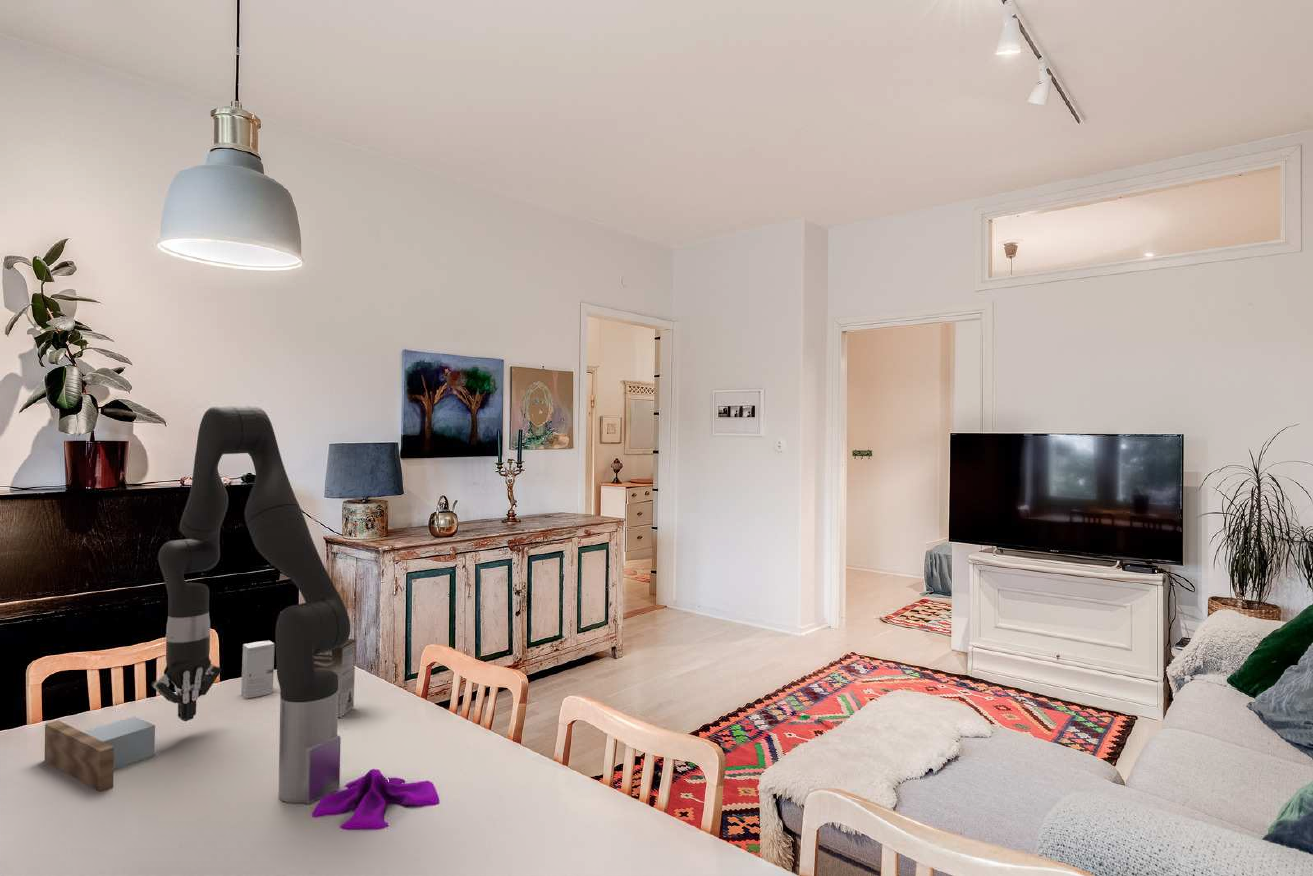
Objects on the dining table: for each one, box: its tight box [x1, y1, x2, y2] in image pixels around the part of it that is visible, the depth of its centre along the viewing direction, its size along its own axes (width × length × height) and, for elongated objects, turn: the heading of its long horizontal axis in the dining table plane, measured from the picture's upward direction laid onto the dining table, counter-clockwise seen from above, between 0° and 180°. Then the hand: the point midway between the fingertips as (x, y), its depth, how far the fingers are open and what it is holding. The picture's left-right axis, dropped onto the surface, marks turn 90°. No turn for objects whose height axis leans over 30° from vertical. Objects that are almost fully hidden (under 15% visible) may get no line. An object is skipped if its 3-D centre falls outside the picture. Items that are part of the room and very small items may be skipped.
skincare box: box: [240, 639, 275, 700], centre depth 169 cm, size 6×4×12 cm
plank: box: [44, 719, 115, 792], centre depth 129 cm, size 22×2×7 cm, turn 60°
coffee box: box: [313, 638, 357, 718], centre depth 159 cm, size 9×6×16 cm
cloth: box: [311, 768, 440, 831], centre depth 122 cm, size 22×19×6 cm
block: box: [82, 716, 156, 770], centre depth 134 cm, size 8×10×6 cm
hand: (187, 719), depth 145 cm, fingers closed
